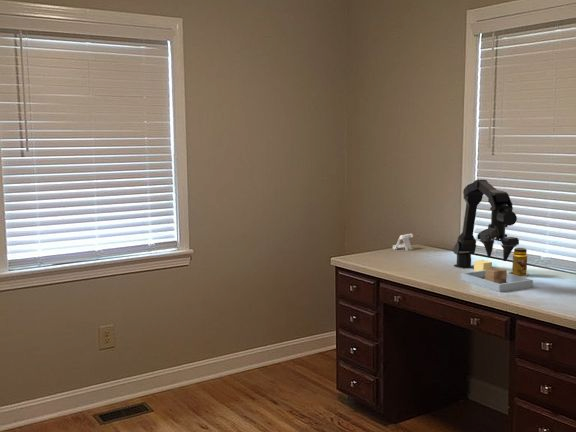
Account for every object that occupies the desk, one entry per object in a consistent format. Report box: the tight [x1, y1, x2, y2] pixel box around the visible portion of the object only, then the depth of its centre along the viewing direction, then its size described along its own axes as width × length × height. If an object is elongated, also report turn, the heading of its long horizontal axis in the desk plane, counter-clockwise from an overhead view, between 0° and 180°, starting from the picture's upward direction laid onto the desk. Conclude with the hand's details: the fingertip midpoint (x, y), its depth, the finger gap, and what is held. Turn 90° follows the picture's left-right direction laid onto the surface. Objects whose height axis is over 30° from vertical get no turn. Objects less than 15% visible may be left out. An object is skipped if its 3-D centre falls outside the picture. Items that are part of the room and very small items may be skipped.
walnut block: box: [484, 267, 508, 284], centre depth 276 cm, size 7×5×6 cm
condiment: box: [507, 247, 529, 278], centre depth 291 cm, size 7×8×12 cm
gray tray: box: [460, 270, 534, 293], centre depth 276 cm, size 23×18×3 cm
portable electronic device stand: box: [392, 233, 414, 252], centre depth 353 cm, size 9×8×8 cm
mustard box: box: [473, 259, 493, 272], centre depth 297 cm, size 6×5×5 cm
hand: (496, 258), depth 275 cm, fingers open, 9 cm apart
